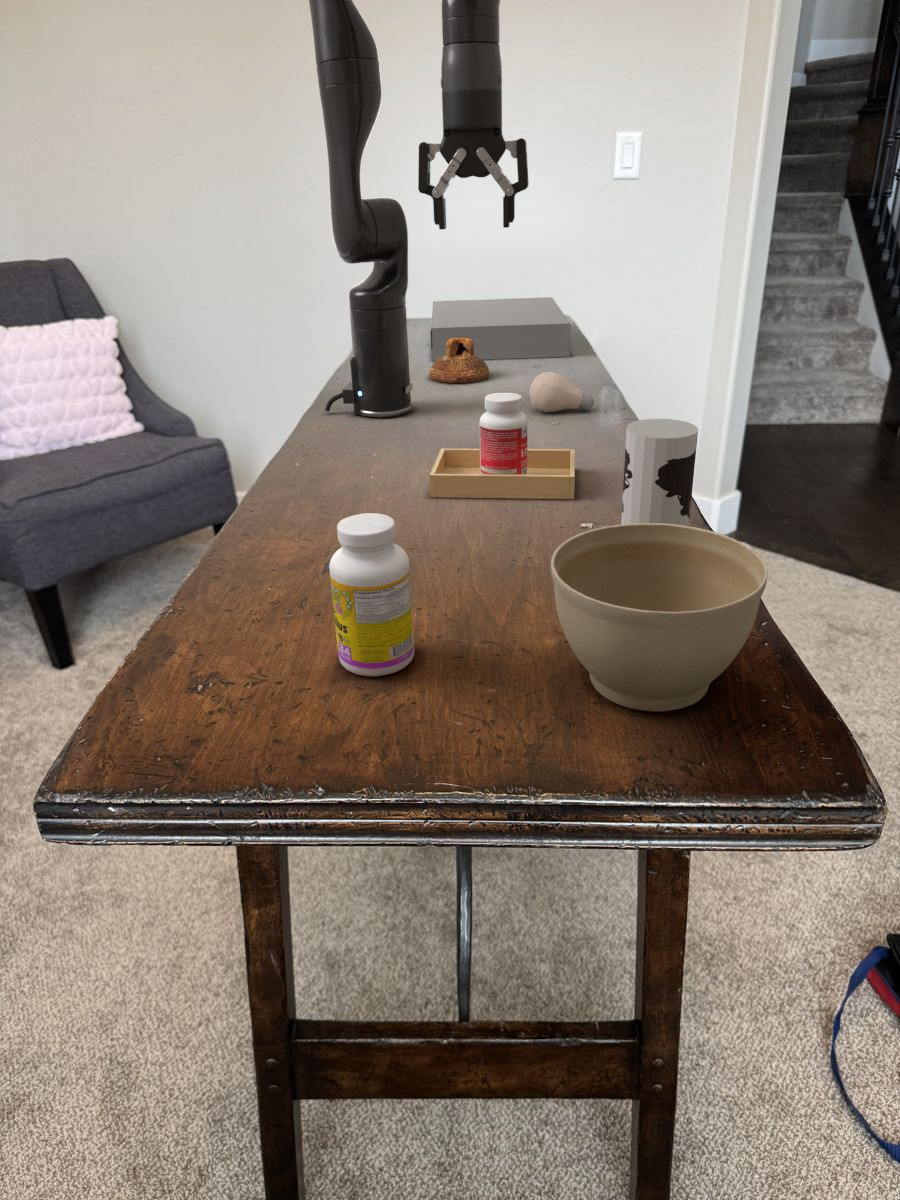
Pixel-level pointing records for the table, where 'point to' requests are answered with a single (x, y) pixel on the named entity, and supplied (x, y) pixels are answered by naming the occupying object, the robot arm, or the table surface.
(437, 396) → the table surface
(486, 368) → the brown domed piece
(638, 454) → the grey patterned cylinder
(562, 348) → the box
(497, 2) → the robot arm
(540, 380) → the light bulb
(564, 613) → the planter bowl
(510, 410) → the pill bottle
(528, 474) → the tray
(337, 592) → the supplement bottle
